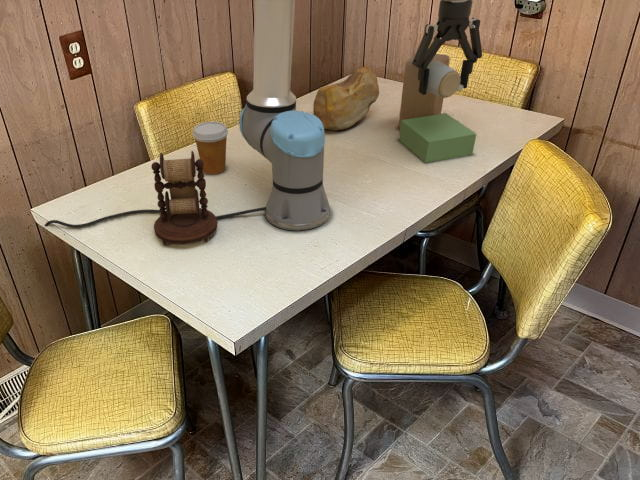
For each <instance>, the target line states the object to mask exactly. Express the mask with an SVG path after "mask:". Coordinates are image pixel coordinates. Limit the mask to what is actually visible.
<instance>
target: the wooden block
mask: <svg viewBox="0 0 640 480" xmlns="http://www.w3.org/2000/svg"><path fill="white" fill-rule="evenodd" d="M415 55H416V53H415V54H413V55H412V56H411V57H410V58H408V59H407V60H406V61H405V65H404V74H403V82H402V91H401V101H400V107H399V108H400V109H399V110H400V111H399V119H398V128H399V129H400V126H401V120H406V119H412V118H418V117H425V116H431V115H437V114H442V111H443V104H444V99H445V98H442V97H439V96H437V95H434V94H432V93H430V92H428V91H427V92H426V95H423V94H421V93H420V92H419V84H420V81H419V80H418V71H419V68H417V67H416V66H414V65H413V64H412V62H413V59H414V57H415ZM450 60H451V59H450V56H449V55H447V54H439V53H436V55H435V56H434V58H433V59H432V61H431V62H433V61H439V62H441V63H443V64H445V65H447V66H449V67H450ZM431 62H430V63H431Z"/></svg>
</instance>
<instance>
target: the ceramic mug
mask: <svg viewBox="0 0 640 480" xmlns="http://www.w3.org/2000/svg"><path fill="white" fill-rule="evenodd" d="M427 68H428V69H430V70H429V77H428V84H427V91H428V92H430V93H432V94H434V95H437V96H439V97H442V98H444V99H445V98H446V99H448V98H450V97H452V96H453V95H454V94H456V92H460V93H461V92H462V91H463V90H464V88H463V87H464V86H463V85H461V84H460V81H461V78H460V75H461V74H460V73H459V72H458V71H457V70H456V69H454V68H453V67H451V66H450V65H449V66H447V65H445V64H443V63H441V62H439V61H433V62H431V63H430V64H429V65H428V67H427Z"/></svg>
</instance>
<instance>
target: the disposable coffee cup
mask: <svg viewBox="0 0 640 480" xmlns="http://www.w3.org/2000/svg"><path fill="white" fill-rule="evenodd" d="M228 135H229V129H228V127H227V126H226V124H225V123H223V122H220V121H205V122H201V123H198V124H196V125H195V126H194V127H193V131H192V137H193V139H194V140H195V144H196V148H197V149H196V150H197V152H198V153H197V154H198V157H199V159H201V160H203V162H204V166H203V167H202V168H204V170H203V174H206V175H218V174H221V173H223V172H224V171H226V158H227V157H226V156H227V140H228V138H227V137H228Z"/></svg>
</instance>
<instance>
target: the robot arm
mask: <svg viewBox="0 0 640 480" xmlns="http://www.w3.org/2000/svg"><path fill="white" fill-rule="evenodd" d="M473 1H474V0H440V1H439V6H438V13H437V15H438V19H437V21H436V23H435V24H429V23H426V24H425V25H424V31H423V36H422V38H421V41H420V43H419V45H418V48H417V50H416V52H415V54H416V55H415V54H414V55H415V57H414V59H413V62H412V64H413V65H414V66H416V67H417V68H419V71H418V80H419V81H420V84H419V92H420V93H421V94H423V95H426V92H427V84H428V77H429V70H430V69H428V68H427V67H428V65H429V64H430V62H431V61H432V59H433V58H434V56H435V55H436V54H438V53H439V50H440V49H441V47H442V46H443V45H445V43H446V42H450V41H453V40H454V41H458V43H459V46H460V47H461V50H462V52H463V54H464V56H465V59H463V60H462V64H461V69H460V70H461V72H460V74H459V75H460V78H461V81H460V84H461V85H463V86H464V87H463V89H467V88H468V83H469V77H470V75H471V74H472V73H473V69H474V64H475V63H477V61H478V59H481V58H483V51H482V42H481V33H480V26H481V20H480V19H478V18H476V17H471V18H470V16H471V14H472V7H473ZM295 6H296V0H254V11H253V14H254V17H253V18H254V19H253V77H252V78H253V79H252V80H253V84H252V88H253V89H252V90H251V91H250V92H249V93H248V95H246V103H245V106H244V108H242V110H241V111H240V112H241V113H240V115H239V118H238V119H239V120H238V124H239V125H238V126H239V130H240V131H239V132H240V134H241V136H242V137H243V139H244V140H245V141H246V143H247V144H248V145H249V146H250V147H251V148H252V149H254V150H255V151H257V152H258V153H259V154H260V155H261V156H262V157H264V158H265V159H266V160H267V161H268V162H269V163H271V174H272V175H271V179H272V185H271V189H270V192H269V196H268V198H267V201H266V204H265V206H264V207H262V206H261V207H257V208H252V209H247V210H241V211H238V212H237V211H236V212H232V213H227V214H222V215H215V216H216V218H217V220H221V219H225V218H232V217H237V216H242V215H245V214H251V213H257V212H263V211H265V218H266V220H267V221H268V223H270V224H271V225H273V226H274V227H276V228H278V229H282V230H287V231H295V232H296V231H298V232H299V231H308V230H312V229H315V228H318V227H320V226H323V225H324V224H326V222H327V221H328V220H329V218H330V215H331V214H330V212H331V211H330V210H331V207H330V204H329V200H328V197H327V194H326V190H325V186H324V161H325V160H324V159H325V145H326V136H325V129H324V126H323V124H322V122H321V120H320V119H319V118H318V117H316V116H315V115H314V113H311V112H307V111H306V112H304V111H303V110H297V109H296V108H297V96H296V94H294V93H293V92H292V91H291V84H292V83H291V81H292V64H293V48H294V47H293V46H294V29H295V28H294V27H295V9H296V7H295ZM467 29H469V37H470V42H469V40H468V35H467V33H466V32H465V31H467ZM436 31H437V33H436ZM470 43H471V44H470ZM165 212H166V210H165ZM145 213H146V214H147V213H151V214H153V213H154V214H161V211H160V210H159V209H135V210H130V211H124V212H120V213H115V214H110V215H107V216H103V217H101V218H98V219H95V220H92V221H89V222H86V223H80V224H71V223H67V222H65V221H61V220H57V219H50V220H48V221H47V222H46V223H45V224H44V227H48V226H50V225H51V224H57V225H61V226H63V227H66V228H72V229H80V228H85V227H89V226H92V225H95V224H98V223H101V222H103V221H107V220H110V219H116V218H119V217H124V216H128V215H129V216H130V215H134V214H135V215H136V214H145Z"/></svg>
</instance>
